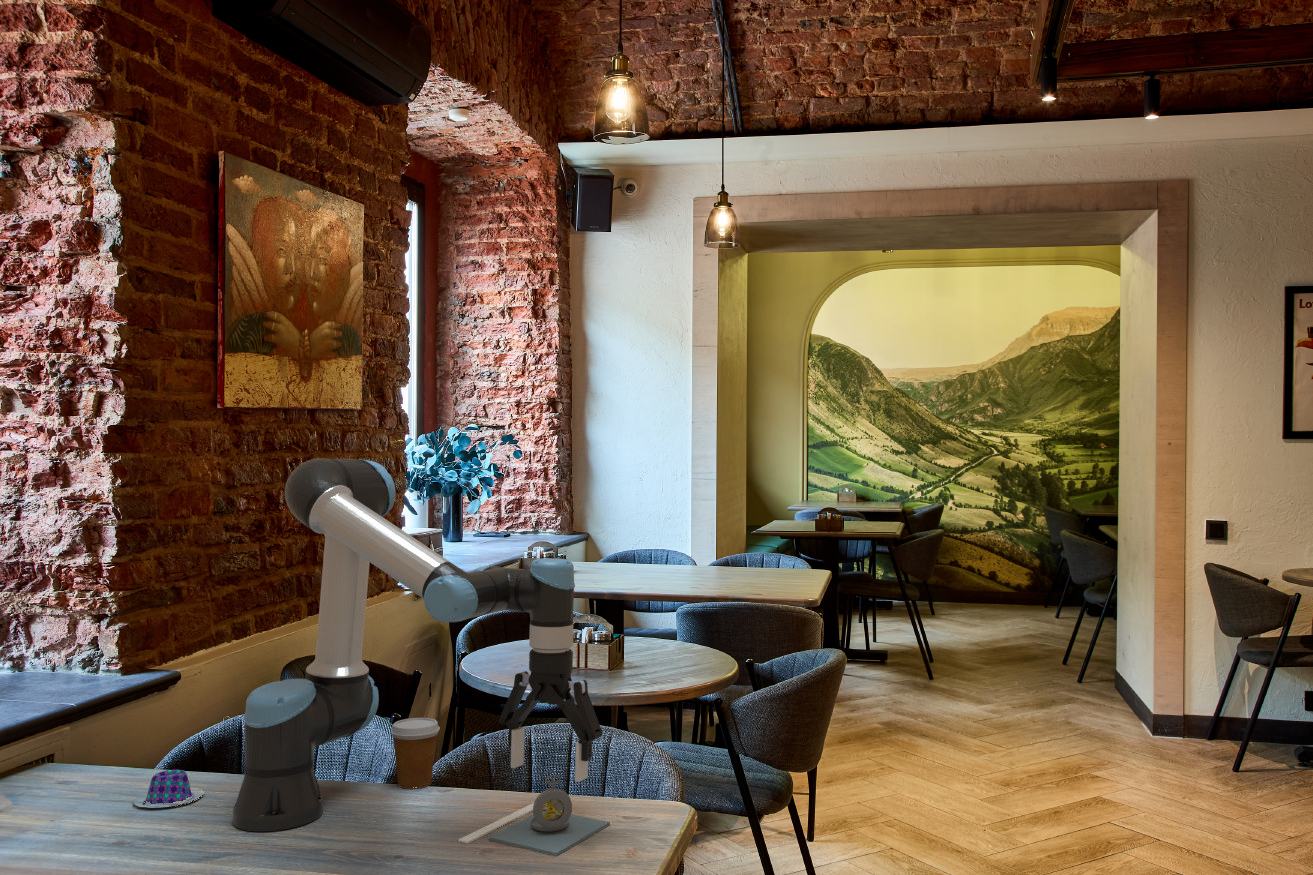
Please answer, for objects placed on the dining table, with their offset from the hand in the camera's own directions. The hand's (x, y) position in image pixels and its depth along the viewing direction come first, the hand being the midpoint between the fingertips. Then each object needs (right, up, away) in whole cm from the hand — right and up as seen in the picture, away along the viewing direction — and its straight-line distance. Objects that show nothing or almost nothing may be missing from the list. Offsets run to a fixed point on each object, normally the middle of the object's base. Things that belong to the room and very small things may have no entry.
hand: (548, 772), depth 164 cm
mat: (0, -10, -1) cm, 10 cm away
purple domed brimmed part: (-74, -11, +16) cm, 76 cm away
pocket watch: (0, -10, -1) cm, 10 cm away
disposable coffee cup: (-30, -11, +26) cm, 41 cm away
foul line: (-8, -10, +4) cm, 14 cm away
